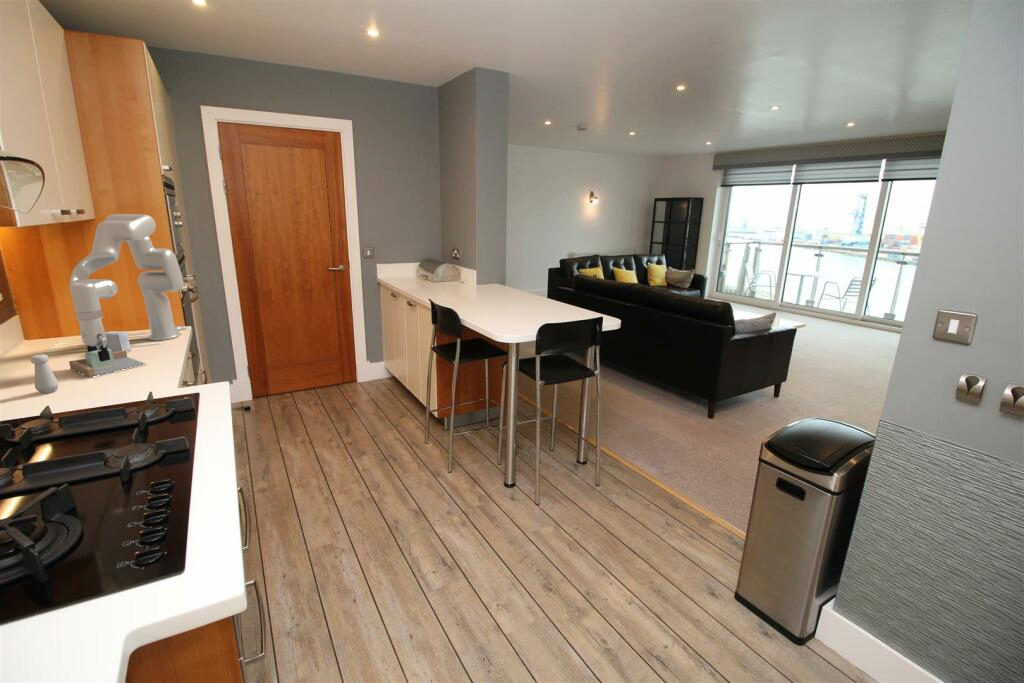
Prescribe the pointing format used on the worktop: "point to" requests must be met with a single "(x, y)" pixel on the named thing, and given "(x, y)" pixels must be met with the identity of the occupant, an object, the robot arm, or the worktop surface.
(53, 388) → the salt shaker
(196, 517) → the worktop surface
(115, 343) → the medicine box
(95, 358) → the green block
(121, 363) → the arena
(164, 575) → the worktop surface
